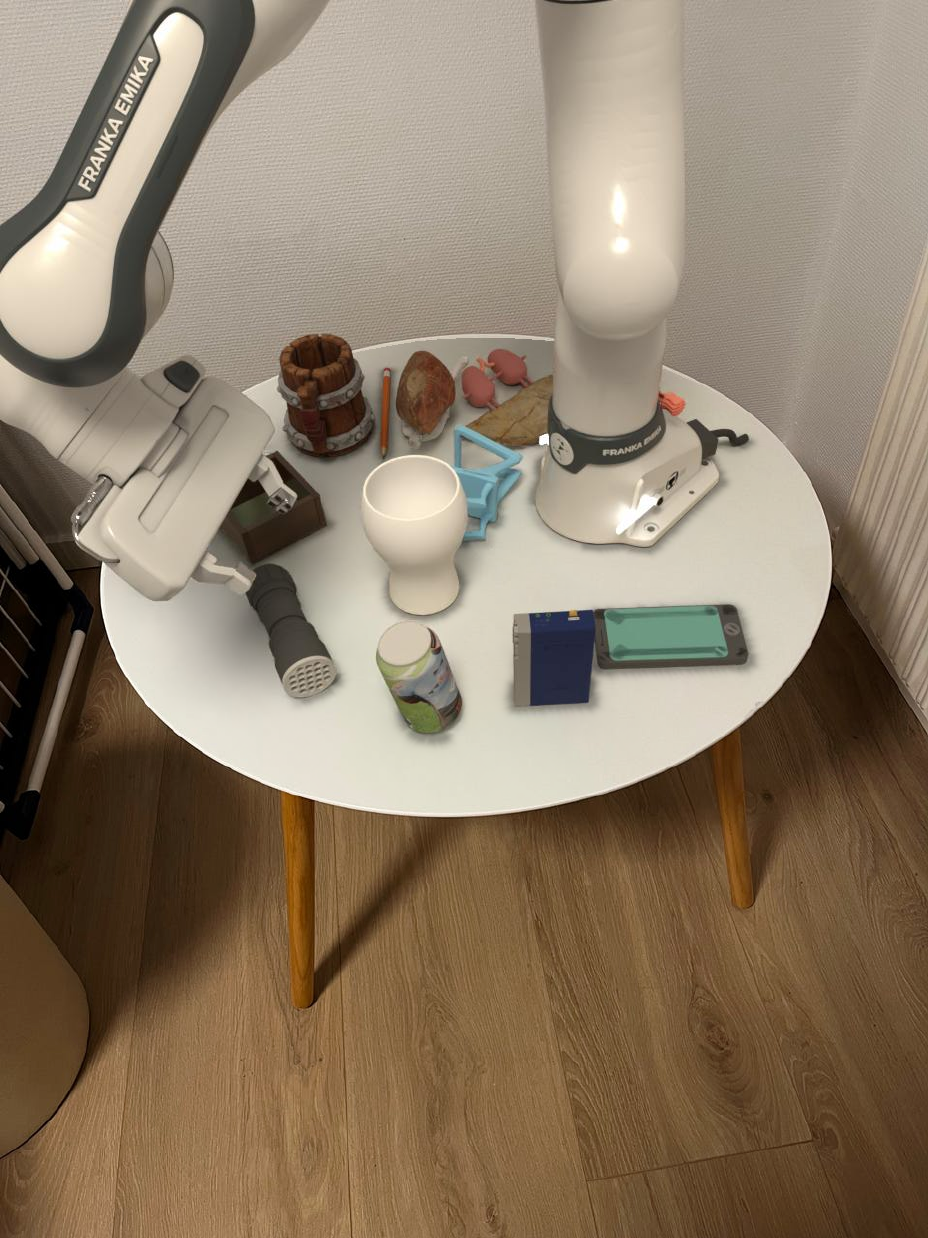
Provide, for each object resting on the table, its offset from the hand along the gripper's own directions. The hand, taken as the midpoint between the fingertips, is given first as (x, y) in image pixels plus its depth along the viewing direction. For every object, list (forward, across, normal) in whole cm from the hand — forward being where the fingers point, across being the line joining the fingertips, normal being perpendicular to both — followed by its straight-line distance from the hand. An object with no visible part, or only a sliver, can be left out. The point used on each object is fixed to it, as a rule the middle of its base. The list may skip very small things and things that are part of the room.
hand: (271, 544), depth 76 cm
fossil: (+25, +44, -2) cm, 51 cm away
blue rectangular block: (+32, +4, -2) cm, 32 cm away
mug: (+7, +38, +23) cm, 44 cm away
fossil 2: (+6, +43, +10) cm, 45 cm away
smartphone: (+39, +13, -9) cm, 42 cm away
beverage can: (+23, -1, +6) cm, 24 cm away
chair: (+20, +34, +5) cm, 40 cm away
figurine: (+15, +44, +14) cm, 49 cm away
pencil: (+10, +44, +19) cm, 48 cm away
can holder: (+5, +22, +24) cm, 33 cm away
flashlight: (+12, +5, +18) cm, 22 cm away
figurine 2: (+22, +50, +7) cm, 55 cm away
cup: (+20, +15, +9) cm, 27 cm away
